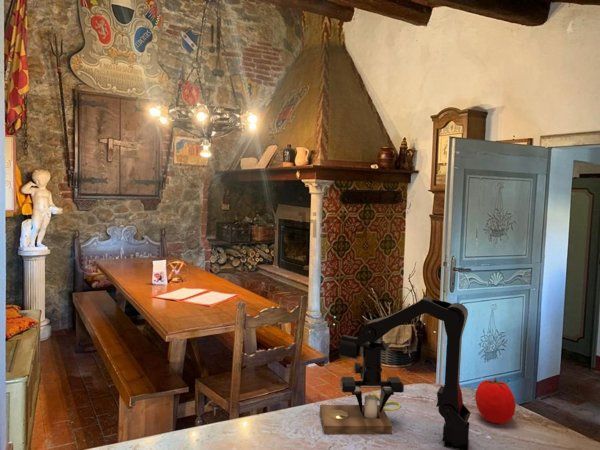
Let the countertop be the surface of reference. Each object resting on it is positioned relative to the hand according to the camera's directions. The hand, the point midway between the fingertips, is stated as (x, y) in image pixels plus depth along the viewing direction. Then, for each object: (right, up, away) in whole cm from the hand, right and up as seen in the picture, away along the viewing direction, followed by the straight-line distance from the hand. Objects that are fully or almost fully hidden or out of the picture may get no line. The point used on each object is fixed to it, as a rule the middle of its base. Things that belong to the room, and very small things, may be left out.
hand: (370, 411), depth 146 cm
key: (+7, -4, +14) cm, 16 cm away
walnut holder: (-5, -3, 0) cm, 6 cm away
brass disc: (-10, -1, 0) cm, 10 cm away
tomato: (+40, -5, +3) cm, 40 cm away
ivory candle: (0, -4, 0) cm, 4 cm away
